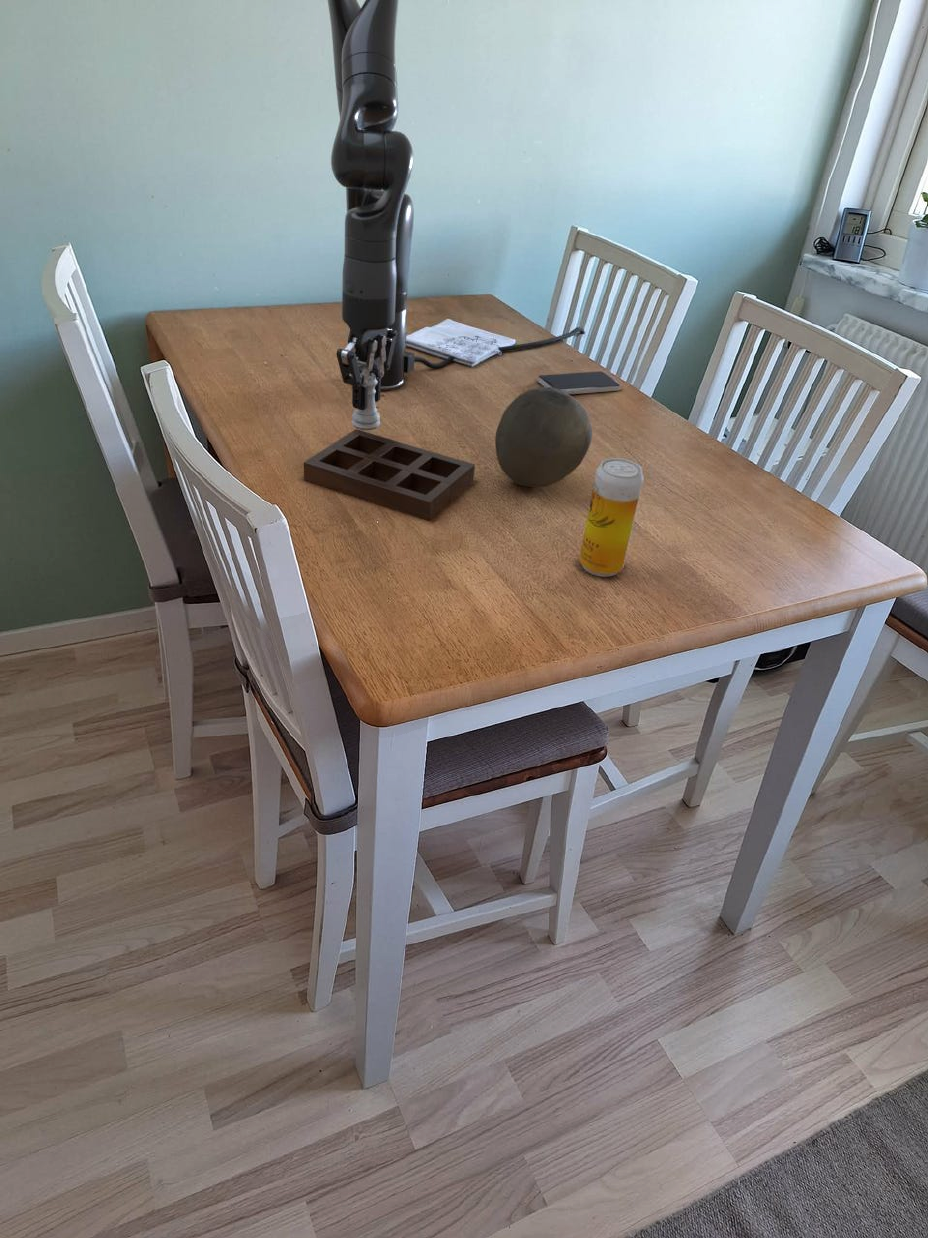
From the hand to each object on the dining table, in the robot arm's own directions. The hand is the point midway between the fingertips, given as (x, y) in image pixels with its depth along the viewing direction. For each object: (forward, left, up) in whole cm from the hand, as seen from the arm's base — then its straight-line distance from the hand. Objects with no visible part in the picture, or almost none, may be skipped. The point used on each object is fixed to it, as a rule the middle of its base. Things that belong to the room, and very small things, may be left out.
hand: (366, 403), depth 136 cm
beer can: (+9, +43, -10) cm, 45 cm away
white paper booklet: (-59, -12, -10) cm, 62 cm away
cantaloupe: (-9, +26, -10) cm, 29 cm away
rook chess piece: (0, 0, -4) cm, 4 cm away
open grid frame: (+4, +7, -10) cm, 12 cm away
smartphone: (-54, +17, -10) cm, 57 cm away
